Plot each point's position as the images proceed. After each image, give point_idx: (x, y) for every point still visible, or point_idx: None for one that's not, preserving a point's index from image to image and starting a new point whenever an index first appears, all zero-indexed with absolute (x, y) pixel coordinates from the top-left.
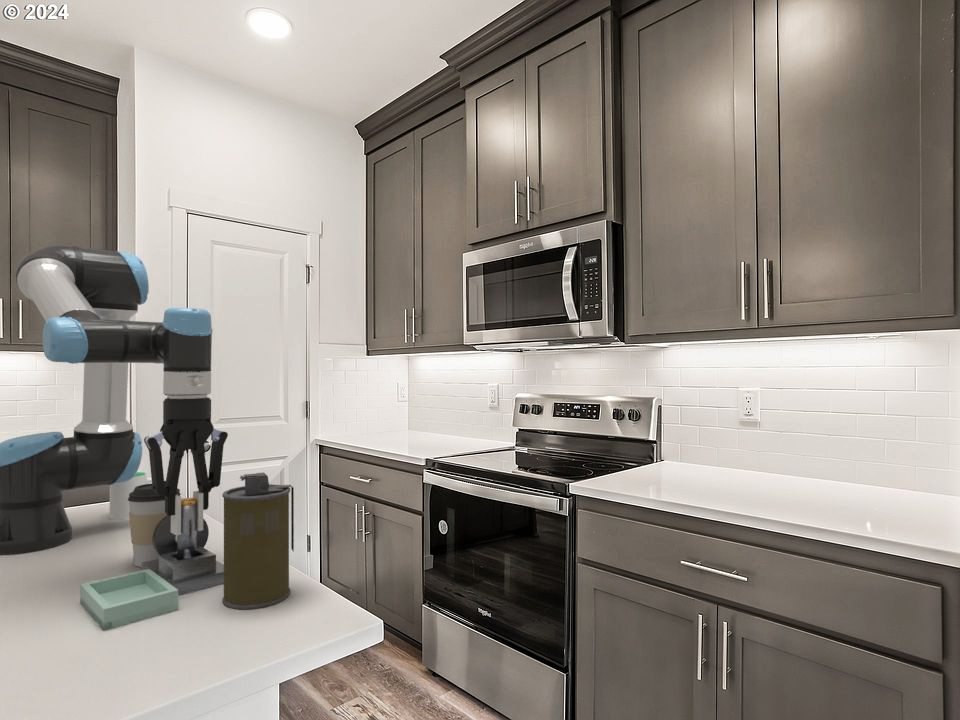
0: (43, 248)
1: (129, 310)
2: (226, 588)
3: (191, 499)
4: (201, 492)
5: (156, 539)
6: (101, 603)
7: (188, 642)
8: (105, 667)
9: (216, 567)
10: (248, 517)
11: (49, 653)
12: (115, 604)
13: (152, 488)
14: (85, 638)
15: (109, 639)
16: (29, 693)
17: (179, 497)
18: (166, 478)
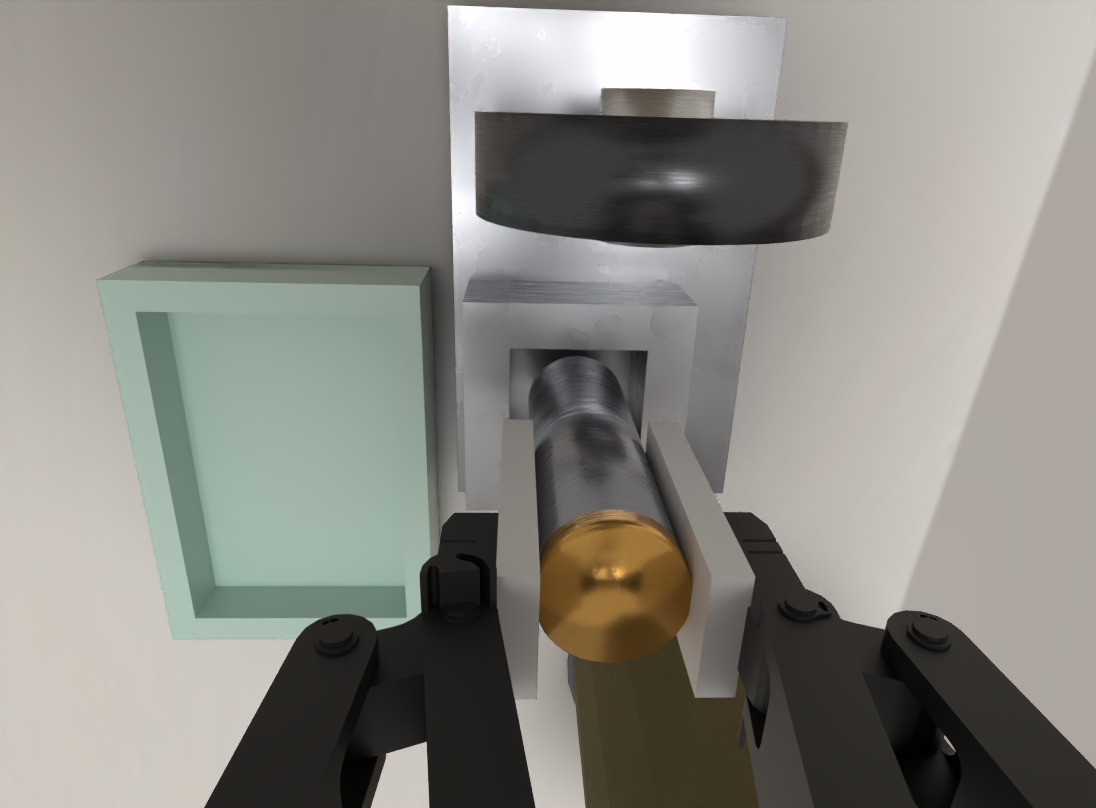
0: None
1: None
2: (577, 705)
3: (644, 615)
4: (738, 667)
5: (476, 203)
6: (169, 582)
7: (389, 801)
8: (188, 796)
9: (691, 414)
10: None
11: (54, 639)
12: (213, 624)
13: (290, 650)
14: (150, 608)
15: (213, 659)
16: (27, 805)
17: (522, 694)
18: (427, 731)
